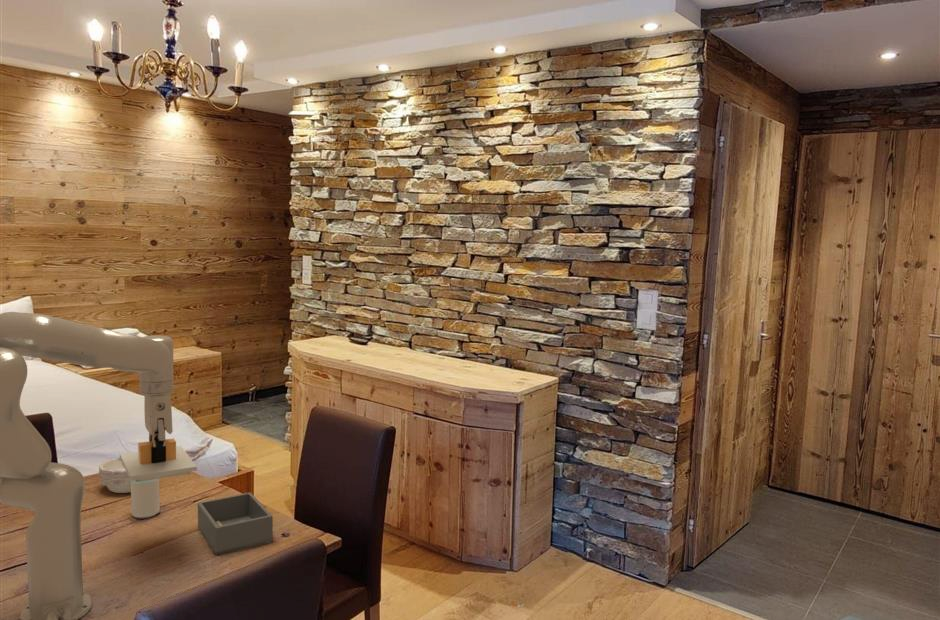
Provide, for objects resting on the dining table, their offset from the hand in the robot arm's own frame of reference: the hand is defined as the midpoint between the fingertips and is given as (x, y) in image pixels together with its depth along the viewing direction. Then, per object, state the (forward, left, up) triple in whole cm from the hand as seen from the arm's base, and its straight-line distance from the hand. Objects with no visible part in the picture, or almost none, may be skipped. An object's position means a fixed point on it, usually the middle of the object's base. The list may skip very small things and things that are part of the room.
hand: (157, 459), depth 166 cm
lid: (0, 0, -2) cm, 2 cm away
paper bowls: (+45, 0, -23) cm, 51 cm away
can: (+22, -1, -23) cm, 32 cm away
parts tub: (-3, -18, -23) cm, 29 cm away
